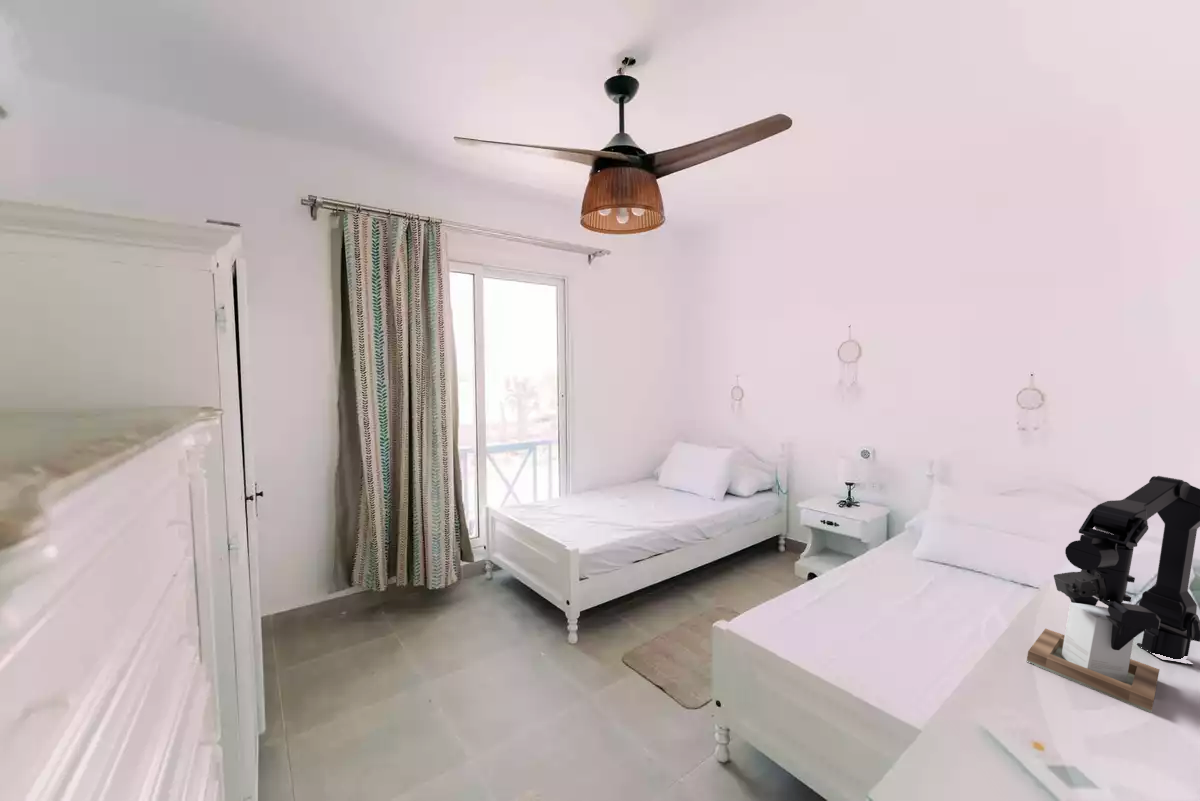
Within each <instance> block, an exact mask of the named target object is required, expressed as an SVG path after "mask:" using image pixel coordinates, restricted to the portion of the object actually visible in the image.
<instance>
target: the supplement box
mask: <svg viewBox="0 0 1200 801" xmlns="http://www.w3.org/2000/svg"><path fill="white" fill-rule="evenodd" d="M1068 606H1069V607H1068V614H1067V619H1066V626H1065V631H1064V635H1065V637H1064V643H1063V649H1062V655H1061V656H1062V657H1063V658H1064V659H1066V660H1067V661H1069V662H1072V663H1074V664H1077V665H1080V666H1082V667H1085V668H1087V669H1090V670H1092V671H1095V672H1098V673H1100V674H1103V675H1105V676H1108V677H1110V678H1113V679H1116V680H1118V681H1121V682H1126V680H1127V674H1128V669H1129V663H1130V659H1131V657H1132V650H1133V645H1134V644H1133V643H1134V639H1135V637H1134V638H1133V639H1132V640H1131V641H1130V642H1128V643H1127V644H1126V645H1125V646H1124V647H1122V648H1121V649H1120V650H1114V649H1112V647H1111V638H1112V623H1111V621H1110V620H1109V619H1108V618H1107V617H1106V615H1108V616H1110V614H1109V612H1108V607H1106V606H1105V607H1104V606H1100V605H1096V606H1094V605H1087V604H1080V603H1072V602H1071V601H1070V602H1069V605H1068Z"/></svg>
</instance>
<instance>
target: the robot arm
mask: <svg viewBox="0 0 1200 801" xmlns="http://www.w3.org/2000/svg"><path fill="white" fill-rule="evenodd" d="M1156 514H1157V515H1158V516H1159V517H1160V519H1161V521H1162V523H1163V524H1164V528H1163V535H1162V542H1161V549H1160V554H1159V560H1158V561H1159V562H1158V568H1157V575H1156V576H1157V577H1156V582H1155V585H1154V586H1152V587H1150V588H1149V589H1148V590H1145V591H1144V592H1142V596H1141V598H1140V600H1139V602H1138V605H1137V604H1132V603H1130V602H1131V601H1132V596H1131V595H1128V594H1126V592H1127V588H1128V582H1129V583H1135V580H1136V577H1134V576H1132V575H1130V571H1131V565H1132V561H1133V560H1132V559H1133V555H1134V548H1136V547H1138V543H1139V542H1140V541H1141V539H1142V538H1143V537H1144V536H1145V535H1146V533H1147V532H1148V530H1149V525H1148V520H1149V519H1150V518H1152V517H1153V516H1154V515H1156ZM1199 528H1200V488H1198V487H1196V486H1194V485H1191V484H1190V483H1189V482H1187V481H1185V480H1184V479H1179V478H1175V477H1174V478H1173V477H1168V476H1162V475H1157V476H1154V475H1153V476H1152V477H1150V479H1149V481H1148V482H1147V483H1146V484H1144V485H1143V486H1141V487H1140V488H1138V489H1137V490H1135V491H1134V492H1132V493H1131V494H1129V495H1128V496H1126V497H1125V498H1123V499H1120V500H1117V499H1116V500H1106V501H1104V502H1101V503H1099V504H1097V505H1096V506H1095V507H1093V508H1092V509H1091V510H1090V512H1089V514H1088V515H1087V517H1086V519H1085V520H1084V522H1083V523H1082V525H1081V526H1080V528H1079V529H1078V534H1081V535H1080V538H1079V540H1074V541H1071V542H1070V543H1068V545H1067V546H1066V547H1065V549H1064V550H1065V552H1064V553H1065V556H1066V559H1067V560H1068V561H1069V563H1070V564H1071V565H1073V566H1074V567H1075V568H1078V569H1080V571H1069V572H1062V573H1057V574H1056V573H1055V574H1054V575H1053V579H1054V584H1055V587H1056V590H1057V591H1058V592H1061V593H1062V594H1064V595H1065V596H1066V597H1068V598H1069V600H1070V602H1072V603H1080V604H1087V605H1094V606H1097V604H1098V602H1101V603H1102V604H1104V605H1106V606H1107V608H1108V612H1109V614H1110V616H1108V615H1106V617H1107V618H1108V619H1109V620H1110V621H1111V623H1112V638H1111V647H1112V649H1114V650H1120V649H1121V648H1122V647H1124V646H1125V645H1126V644H1127V643H1128V642H1130V641H1131V640H1132V639H1133V638H1134V639H1135V637H1138V636H1139V635H1140V634H1142V633H1143V635H1142V640H1141V643H1140V642H1137V643H1136V646H1137V647H1139V646H1140V647H1139V648H1141V647H1142V648H1143V650H1144V649H1145V650H1144V651H1146V650H1148V651H1149V652H1151V653H1155V654H1160V655H1163V656H1166V657H1170V658H1173V659H1181V658H1183V657H1184V656H1188V657H1189V652H1190V647H1191V642H1192V641H1195V642H1200V618H1199V615H1198V614H1197V609H1198V608H1197V607H1198V605H1197V602H1195V599H1193V597H1192V595H1191V594H1190V592H1189V585H1190V584H1189V583H1190V576H1191V571H1192V564H1193V557H1194V553H1195V552H1194V551H1195V546H1196V538H1197V534H1198V533H1197V532H1198V529H1199ZM1124 602H1129V603H1124ZM1134 639H1133V640H1134ZM1142 648H1141V649H1142ZM1149 652H1148V653H1149Z"/></svg>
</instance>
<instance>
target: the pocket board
mask: <svg viewBox="0 0 1200 801" xmlns="http://www.w3.org/2000/svg"><path fill="white" fill-rule="evenodd" d="M1064 637H1065V634H1062V633H1059V632H1056V631H1054V630H1051V629H1049V628H1044V630H1043V631H1042V632H1041V633H1040V635H1039V636H1038V638H1037V639H1036V640H1035V642H1034V643H1033V644H1032V645H1031V646H1030V648H1029V649H1028V652H1027V655H1026V656H1027V657H1026V662H1027V661H1028V662H1030V663H1032V664H1031V665H1033V664H1034V665H1033V666H1035V665H1036V667H1038V668H1040V669H1042V668H1043V670H1046V671H1047V672H1050V673H1053V674H1055V675H1056V676H1060V677H1062V678H1065V679H1067V680H1069V681H1072V682H1074V683H1076V684H1079V685H1082V686H1085V687H1086V688H1090V689H1092V690H1093V691H1097V692H1099V693H1101V694H1104V695H1105V696H1109V697H1111V698H1112V699H1113V698H1114V699H1116V700H1119V701H1120V702H1123V703H1126V704H1128V705H1130V706H1133V707H1135V708H1138V709H1140V710H1142V711H1145V712H1148V713H1150V714H1152V712H1153V707H1154V701H1155V697H1156V696H1155V695H1156V691H1157V684H1158V680H1159V674H1160V668H1157V667H1154V666H1151V665H1148V664H1145V663H1143V662H1140V661H1137V660H1135V659H1132V658H1130V663H1129V669H1128V674H1127V680H1126V682H1121V681H1118V680H1116V679H1113V678H1110V677H1108V676H1105V675H1103V674H1100V673H1098V672H1095V671H1092V670H1090V669H1087V668H1085V667H1082V666H1080V665H1077V664H1074V663H1072V662H1069V661H1067V660H1066V659H1064V658H1063V657H1062V656H1061V655H1062V649H1063V643H1064ZM1028 662H1027V663H1028ZM1030 663H1029V664H1030Z"/></svg>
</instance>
